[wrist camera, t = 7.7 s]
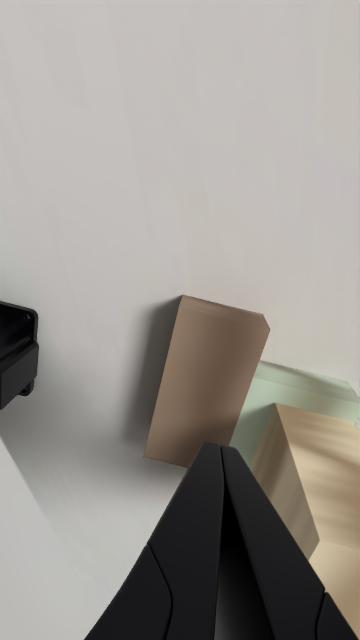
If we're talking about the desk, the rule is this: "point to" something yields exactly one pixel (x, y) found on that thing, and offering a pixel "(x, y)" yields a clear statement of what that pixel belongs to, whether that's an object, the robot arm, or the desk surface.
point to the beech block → (317, 495)
